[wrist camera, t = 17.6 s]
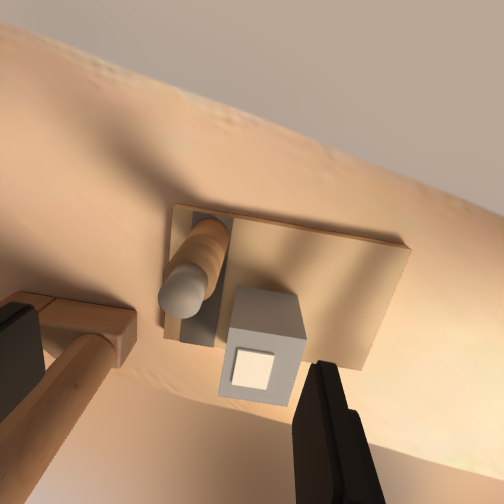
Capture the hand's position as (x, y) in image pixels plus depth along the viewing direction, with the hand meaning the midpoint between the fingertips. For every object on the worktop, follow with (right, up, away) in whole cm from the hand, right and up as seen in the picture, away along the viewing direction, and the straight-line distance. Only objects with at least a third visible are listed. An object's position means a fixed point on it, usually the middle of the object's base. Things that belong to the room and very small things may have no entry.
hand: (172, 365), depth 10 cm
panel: (+5, 0, +15) cm, 16 cm away
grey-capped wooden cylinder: (0, +5, +12) cm, 13 cm away
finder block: (+3, -2, +15) cm, 15 cm away
